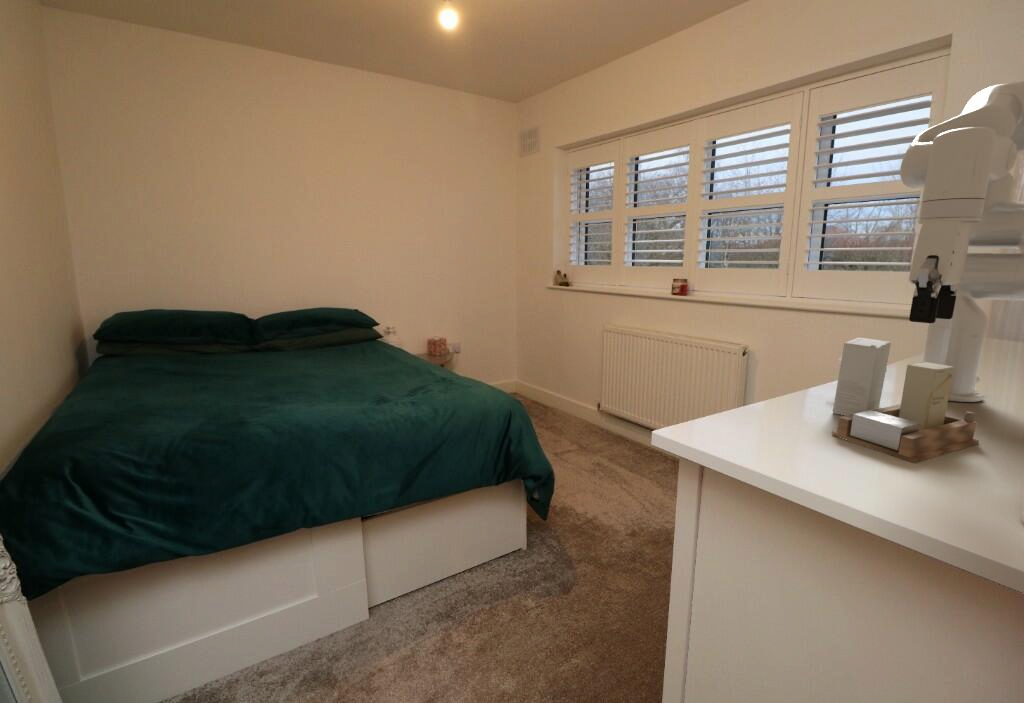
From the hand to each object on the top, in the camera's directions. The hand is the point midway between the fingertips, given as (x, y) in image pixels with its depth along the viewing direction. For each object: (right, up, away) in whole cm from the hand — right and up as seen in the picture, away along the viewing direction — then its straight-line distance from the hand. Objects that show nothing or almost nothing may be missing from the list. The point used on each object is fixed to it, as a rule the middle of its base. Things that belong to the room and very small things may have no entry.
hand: (930, 320), depth 80 cm
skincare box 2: (+2, -20, +5) cm, 20 cm away
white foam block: (-8, -20, +1) cm, 21 cm away
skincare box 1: (0, -18, +17) cm, 25 cm away
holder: (-2, -20, +3) cm, 21 cm away
